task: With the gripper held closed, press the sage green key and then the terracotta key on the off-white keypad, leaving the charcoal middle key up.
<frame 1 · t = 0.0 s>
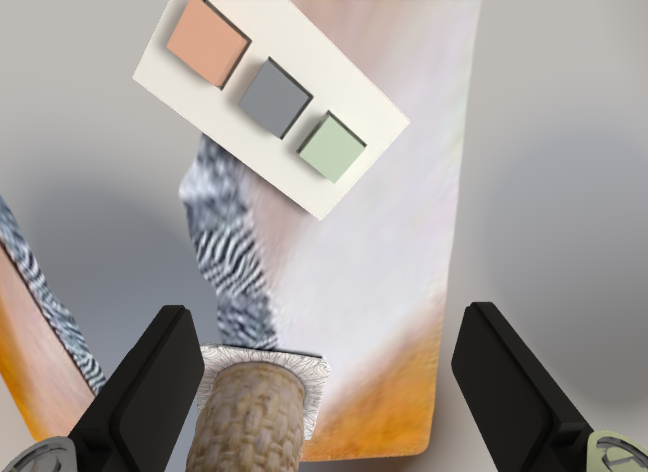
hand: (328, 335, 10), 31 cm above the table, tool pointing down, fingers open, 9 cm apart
cookie jar: (260, 388, 59), on the table
terracotta key: (208, 44, 29), point 4 cm above the table, slide at 0.0 cm
sage key: (331, 150, 34), point 4 cm above the table, slide at 0.0 cm
charcoal key: (274, 101, 32), point 4 cm above the table, slide at 0.0 cm
keypad: (279, 99, 35), on the table
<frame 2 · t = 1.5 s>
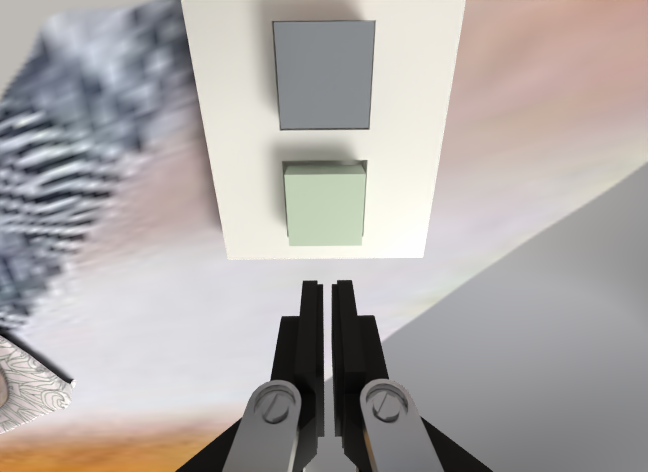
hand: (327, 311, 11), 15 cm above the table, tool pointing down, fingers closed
sage key: (325, 205, 21), point 4 cm above the table, slide at 0.0 cm
charcoal key: (324, 79, 18), point 4 cm above the table, slide at 0.0 cm
keypad: (323, 80, 21), on the table
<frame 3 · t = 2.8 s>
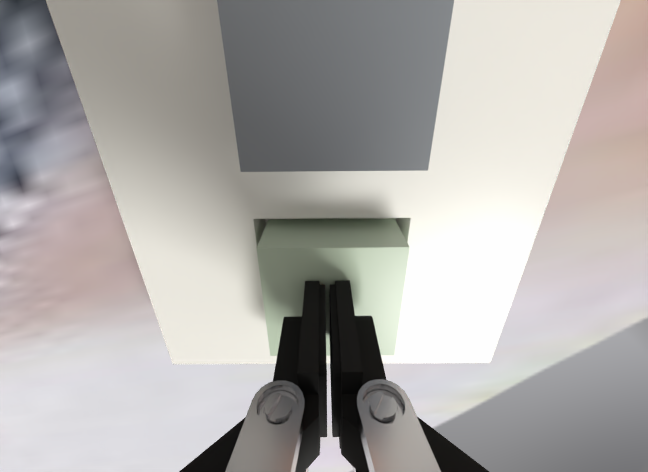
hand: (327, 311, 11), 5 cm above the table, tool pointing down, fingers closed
sage key: (331, 287, 12), point 3 cm above the table, slide at 0.6 cm, touching gripper
charcoal key: (333, 65, 8), point 4 cm above the table, slide at 0.0 cm
keypad: (330, 70, 12), on the table
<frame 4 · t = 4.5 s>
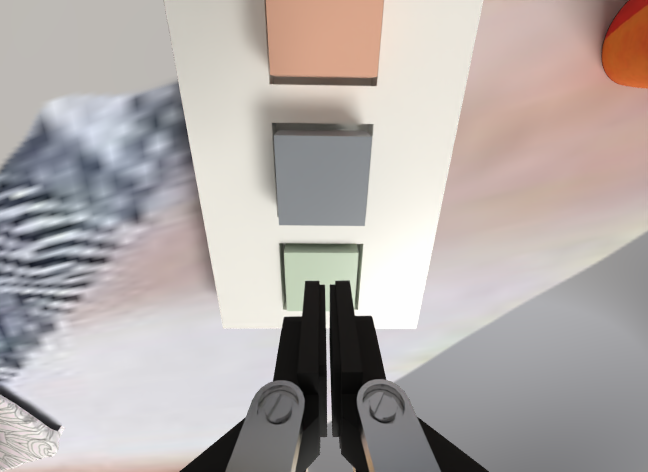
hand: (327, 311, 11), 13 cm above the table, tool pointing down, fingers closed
paper cup: (645, 36, 18), on the table
terracotta key: (324, 15, 14), point 4 cm above the table, slide at 0.0 cm
sage key: (320, 274, 23), point 2 cm above the table, slide at 1.6 cm
charcoal key: (322, 178, 18), point 4 cm above the table, slide at 0.0 cm
keypad: (321, 162, 21), on the table
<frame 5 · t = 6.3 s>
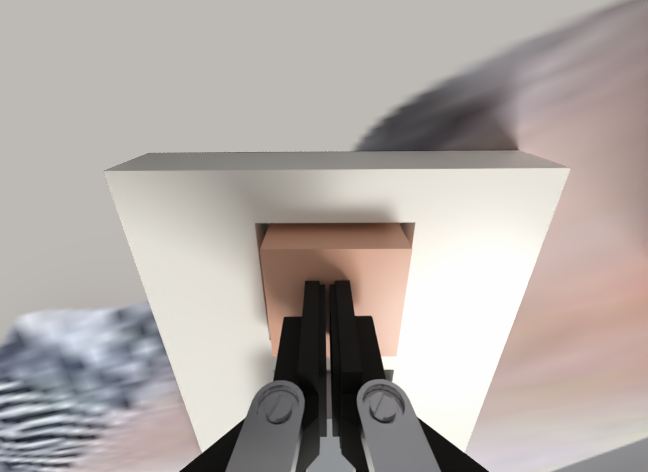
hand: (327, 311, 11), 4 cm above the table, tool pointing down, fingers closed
terracotta key: (334, 289, 12), point 3 cm above the table, slide at 0.9 cm, touching gripper
charcoal key: (333, 426, 15), point 4 cm above the table, slide at 0.0 cm
keypad: (332, 361, 19), on the table
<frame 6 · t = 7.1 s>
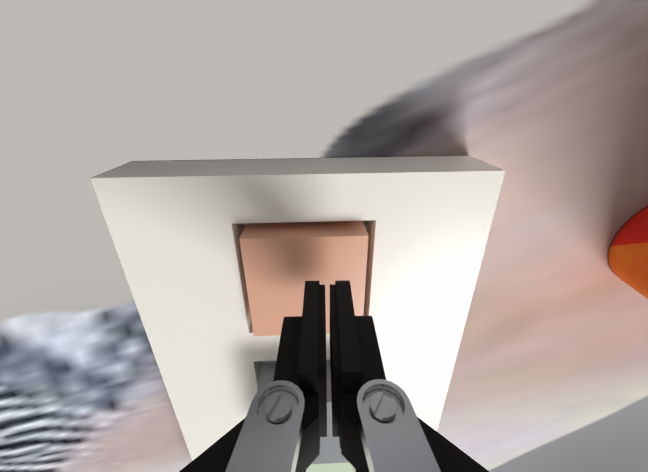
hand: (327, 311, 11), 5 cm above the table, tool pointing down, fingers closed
terracotta key: (306, 274, 14), point 2 cm above the table, slide at 1.6 cm
sage key: (314, 462, 21), point 2 cm above the table, slide at 1.6 cm
charcoal key: (311, 413, 16), point 4 cm above the table, slide at 0.0 cm
keypad: (311, 354, 20), on the table
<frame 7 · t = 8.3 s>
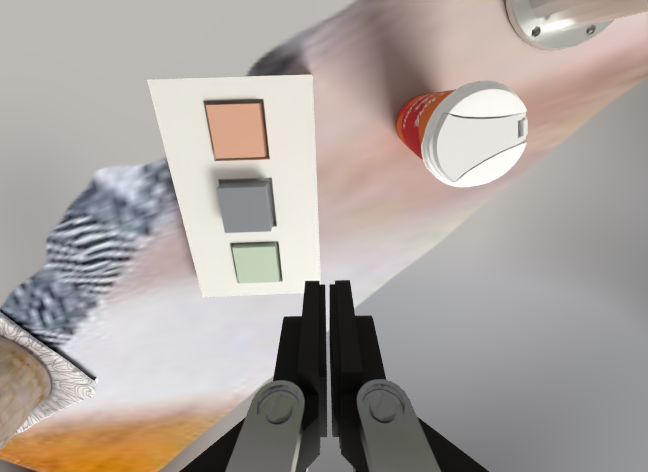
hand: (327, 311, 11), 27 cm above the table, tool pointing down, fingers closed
paper cup: (419, 122, 34), on the table
terracotta key: (239, 130, 31), point 2 cm above the table, slide at 1.6 cm
sage key: (258, 260, 38), point 2 cm above the table, slide at 1.6 cm
charcoal key: (246, 206, 34), point 4 cm above the table, slide at 0.0 cm
keypad: (253, 195, 37), on the table
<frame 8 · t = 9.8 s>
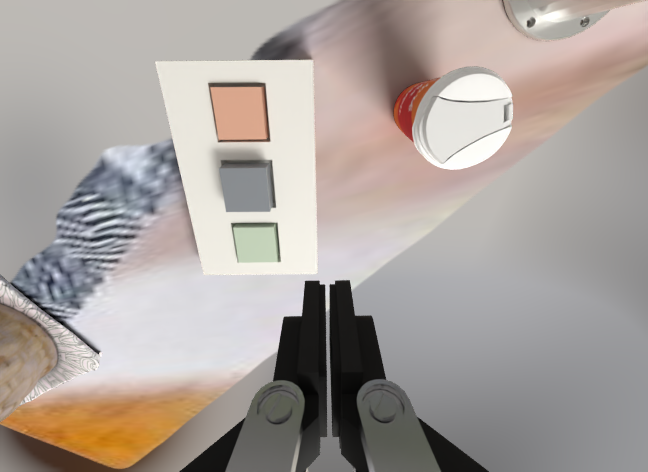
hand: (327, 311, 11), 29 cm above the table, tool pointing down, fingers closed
paper cup: (415, 109, 35), on the table
cookie jar: (7, 336, 51), on the table
terracotta key: (241, 113, 33), point 2 cm above the table, slide at 1.6 cm
sage key: (257, 241, 40), point 2 cm above the table, slide at 1.6 cm
charcoal key: (247, 187, 35), point 4 cm above the table, slide at 0.0 cm
keypad: (254, 178, 39), on the table
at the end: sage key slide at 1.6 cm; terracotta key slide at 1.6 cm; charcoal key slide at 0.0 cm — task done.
